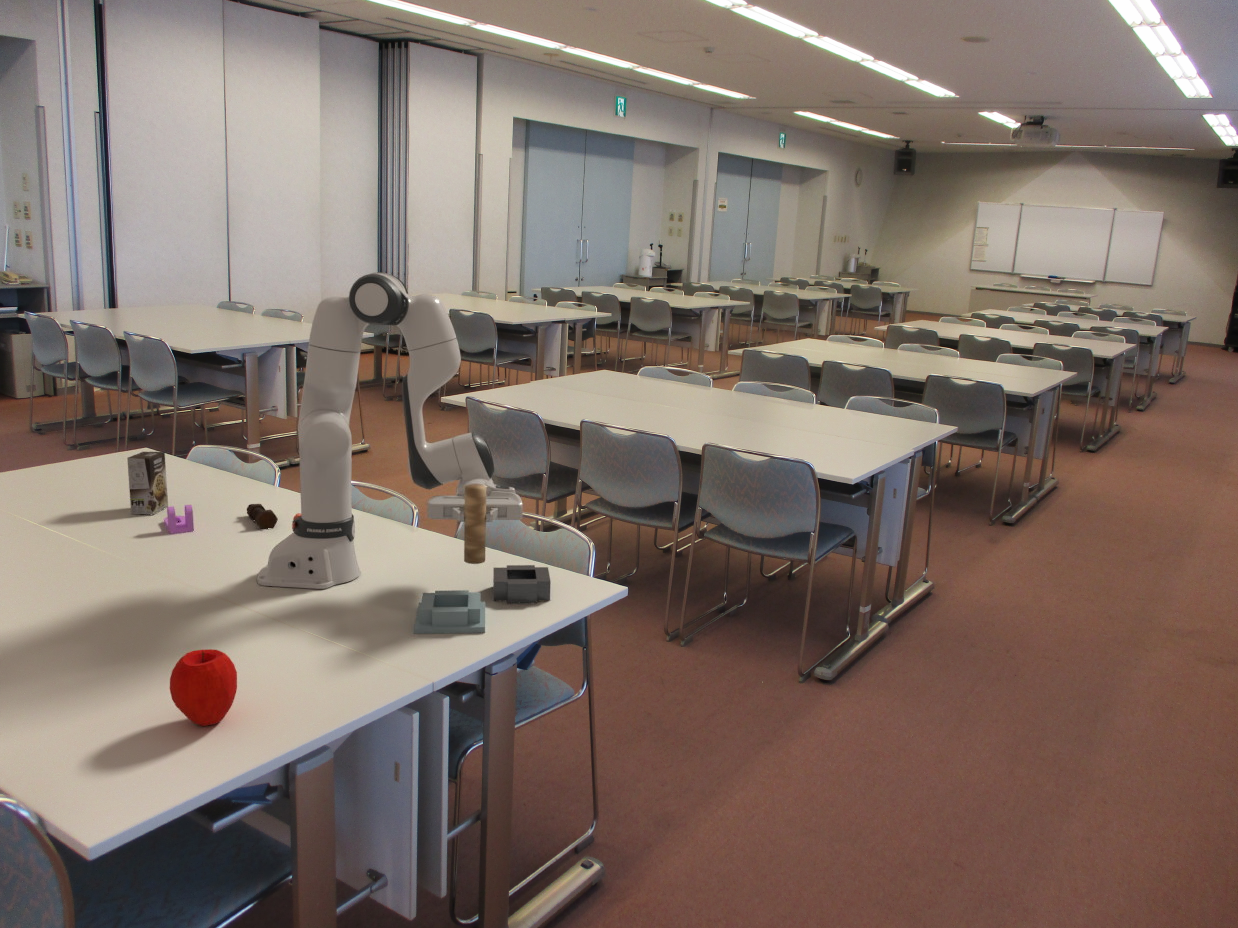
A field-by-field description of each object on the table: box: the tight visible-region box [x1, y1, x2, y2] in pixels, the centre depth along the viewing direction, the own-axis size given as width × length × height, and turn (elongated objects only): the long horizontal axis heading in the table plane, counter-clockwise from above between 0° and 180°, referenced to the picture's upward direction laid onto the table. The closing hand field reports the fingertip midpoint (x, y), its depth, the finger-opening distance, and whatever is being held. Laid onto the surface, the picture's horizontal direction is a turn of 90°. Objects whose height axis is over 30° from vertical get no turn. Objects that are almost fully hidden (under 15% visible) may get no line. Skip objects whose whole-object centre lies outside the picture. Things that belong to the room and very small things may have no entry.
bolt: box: [246, 503, 279, 530], centre depth 257 cm, size 6×5×15 cm
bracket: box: [163, 504, 195, 535], centre depth 250 cm, size 13×6×7 cm, turn 33°
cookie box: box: [127, 451, 169, 516], centre depth 262 cm, size 9×6×16 cm
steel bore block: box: [492, 564, 552, 605], centre depth 212 cm, size 12×12×4 cm
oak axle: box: [463, 484, 487, 565], centre depth 197 cm, size 4×4×16 cm
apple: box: [169, 648, 238, 727], centre depth 150 cm, size 10×10×12 cm
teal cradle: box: [413, 589, 486, 635], centre depth 195 cm, size 14×14×4 cm
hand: (475, 518), depth 196 cm, fingers closed on oak axle, 4 cm apart
